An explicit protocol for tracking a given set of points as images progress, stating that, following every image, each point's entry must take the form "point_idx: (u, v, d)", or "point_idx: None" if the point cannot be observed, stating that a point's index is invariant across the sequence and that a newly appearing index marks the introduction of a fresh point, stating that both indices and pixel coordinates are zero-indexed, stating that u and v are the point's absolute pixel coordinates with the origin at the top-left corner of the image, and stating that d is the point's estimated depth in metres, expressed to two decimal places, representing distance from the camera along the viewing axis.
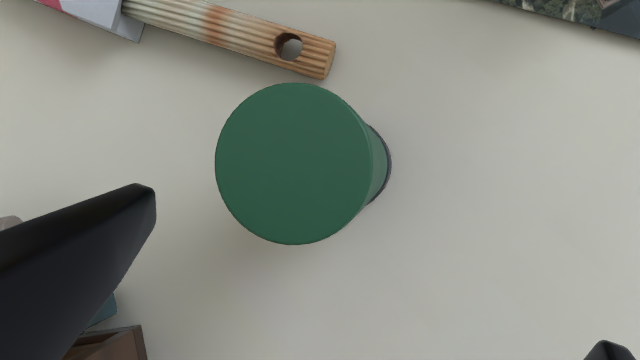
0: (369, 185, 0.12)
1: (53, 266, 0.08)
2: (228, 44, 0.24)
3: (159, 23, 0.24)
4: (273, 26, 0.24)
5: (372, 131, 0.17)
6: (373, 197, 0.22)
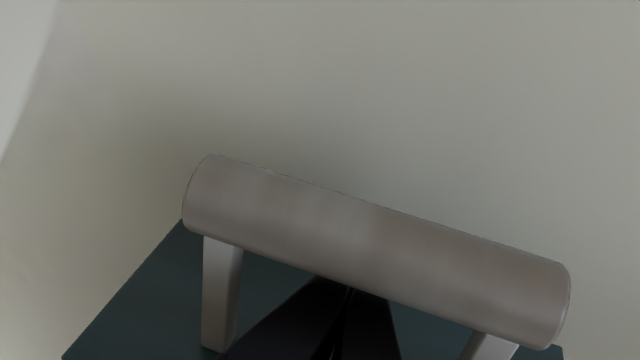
0: None
1: None
2: None
3: None
4: None
5: None
6: None
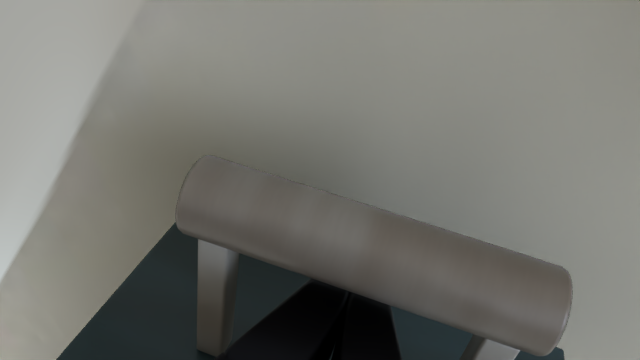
0: None
1: None
2: None
3: None
4: None
5: None
6: None
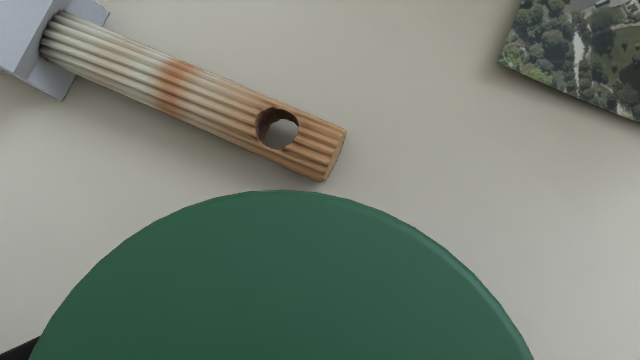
0: None
1: None
2: (188, 115, 0.16)
3: (91, 75, 0.17)
4: (258, 97, 0.16)
5: None
6: None
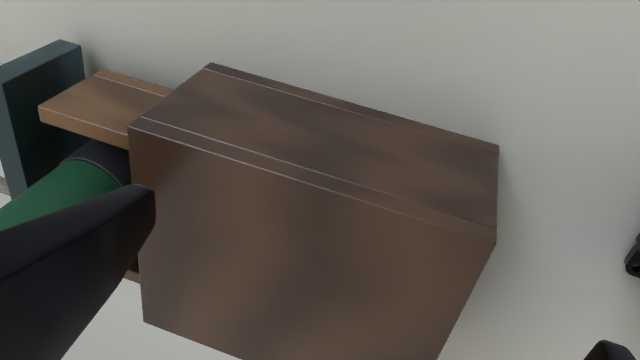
0: None
1: (53, 266, 0.08)
2: None
3: None
4: None
5: None
6: (103, 169, 0.22)
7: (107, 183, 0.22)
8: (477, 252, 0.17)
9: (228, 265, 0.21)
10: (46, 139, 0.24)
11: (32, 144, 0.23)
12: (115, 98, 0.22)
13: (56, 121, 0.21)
